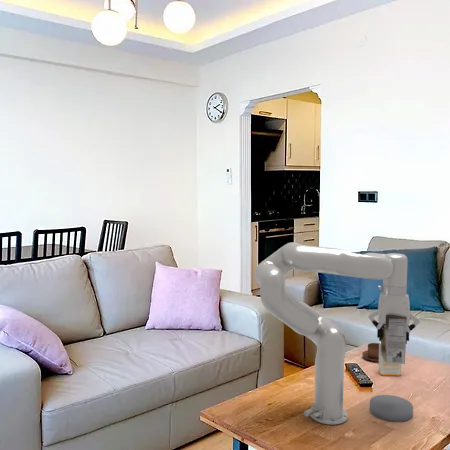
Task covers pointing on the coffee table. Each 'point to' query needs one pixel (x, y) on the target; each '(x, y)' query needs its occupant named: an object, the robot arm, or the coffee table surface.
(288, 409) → the coffee table surface
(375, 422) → the coffee table surface
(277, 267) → the robot arm
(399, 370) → the supplement box
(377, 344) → the cup and saucer
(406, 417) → the podium
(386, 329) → the coffee box
